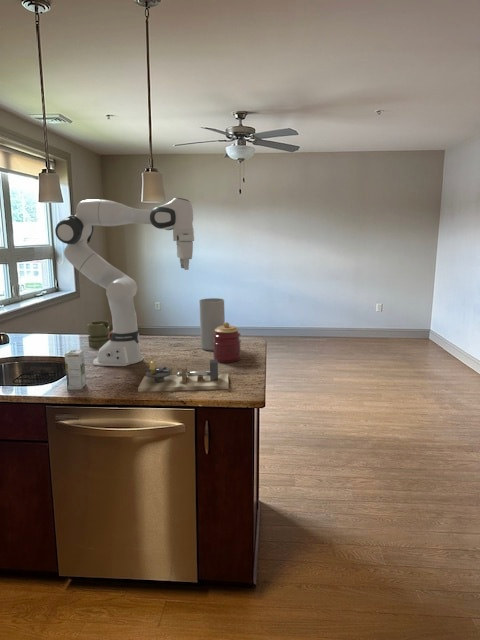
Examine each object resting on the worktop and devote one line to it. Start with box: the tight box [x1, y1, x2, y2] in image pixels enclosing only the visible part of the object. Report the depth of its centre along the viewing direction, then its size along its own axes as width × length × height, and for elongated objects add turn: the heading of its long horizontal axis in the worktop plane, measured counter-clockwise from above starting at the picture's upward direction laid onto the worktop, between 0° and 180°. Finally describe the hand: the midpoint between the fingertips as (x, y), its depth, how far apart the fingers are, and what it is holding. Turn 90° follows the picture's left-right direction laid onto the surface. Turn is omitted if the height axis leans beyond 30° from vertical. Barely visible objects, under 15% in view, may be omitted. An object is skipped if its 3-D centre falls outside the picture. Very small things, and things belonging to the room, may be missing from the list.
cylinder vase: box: [199, 297, 226, 352], centre depth 220 cm, size 12×12×25 cm
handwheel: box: [145, 360, 173, 378], centre depth 167 cm, size 10×10×6 cm
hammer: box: [176, 359, 221, 381], centre depth 168 cm, size 17×4×7 cm, turn 92°
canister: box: [212, 321, 242, 363], centre depth 200 cm, size 13×13×18 cm
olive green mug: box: [86, 320, 111, 348], centre depth 232 cm, size 11×12×11 cm
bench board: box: [137, 373, 229, 393], centre depth 168 cm, size 34×14×4 cm, turn 92°
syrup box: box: [64, 349, 87, 391], centre depth 166 cm, size 6×6×14 cm
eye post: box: [181, 362, 188, 384], centre depth 168 cm, size 1×7×6 cm, turn 2°
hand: (184, 269), depth 188 cm, fingers open, 8 cm apart
